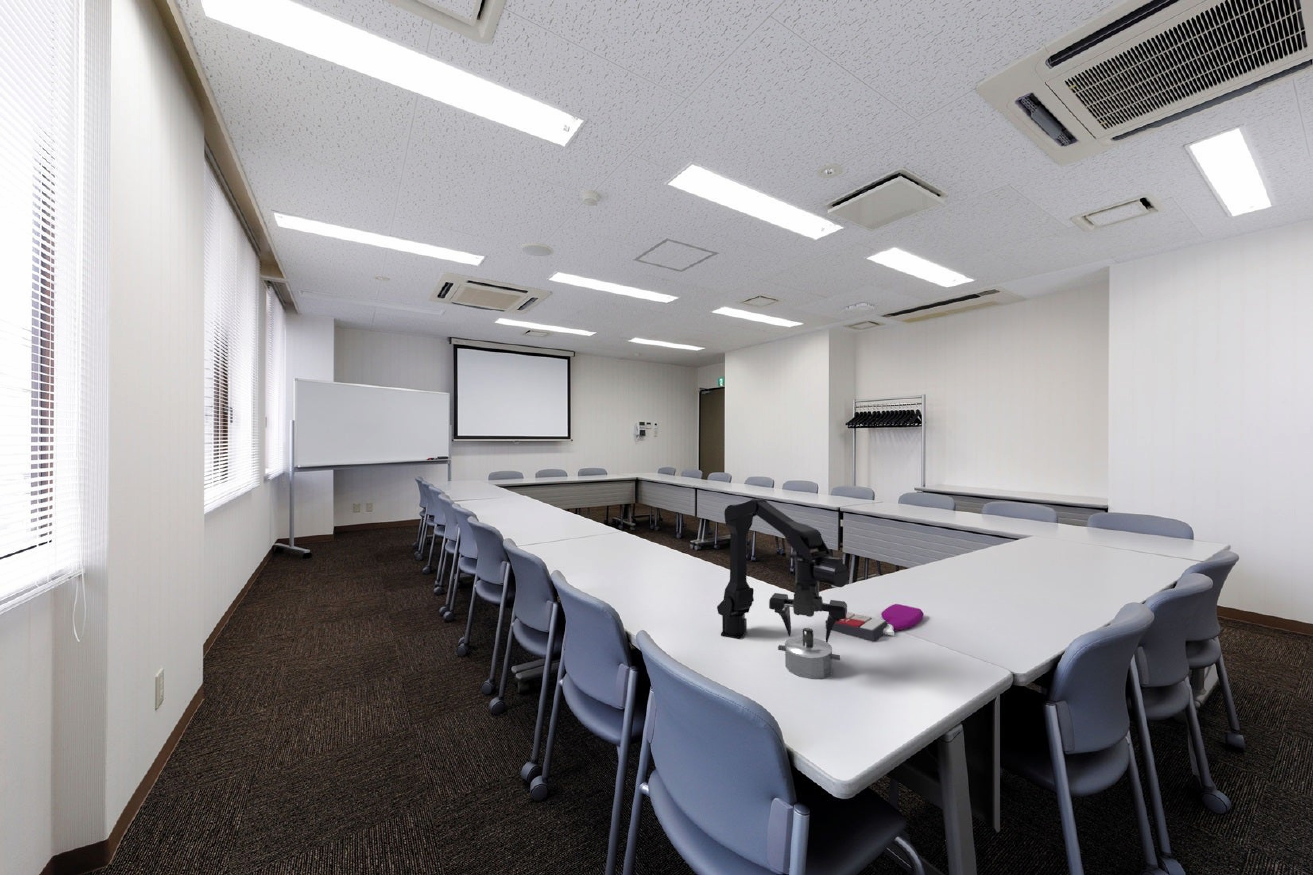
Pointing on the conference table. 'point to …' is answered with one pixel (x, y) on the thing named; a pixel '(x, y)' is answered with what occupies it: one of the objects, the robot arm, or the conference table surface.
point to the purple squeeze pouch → (900, 617)
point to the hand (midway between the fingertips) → (808, 638)
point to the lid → (808, 646)
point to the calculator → (860, 627)
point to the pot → (808, 665)
